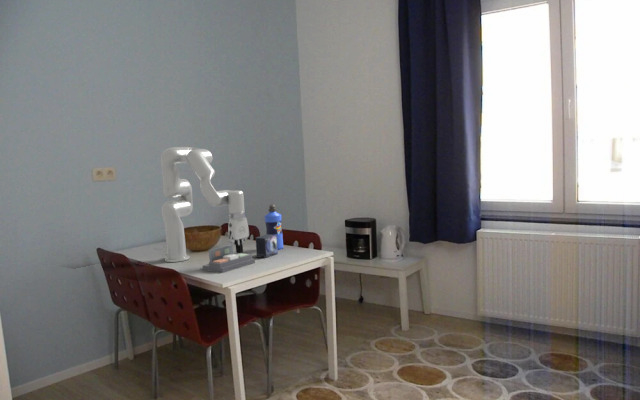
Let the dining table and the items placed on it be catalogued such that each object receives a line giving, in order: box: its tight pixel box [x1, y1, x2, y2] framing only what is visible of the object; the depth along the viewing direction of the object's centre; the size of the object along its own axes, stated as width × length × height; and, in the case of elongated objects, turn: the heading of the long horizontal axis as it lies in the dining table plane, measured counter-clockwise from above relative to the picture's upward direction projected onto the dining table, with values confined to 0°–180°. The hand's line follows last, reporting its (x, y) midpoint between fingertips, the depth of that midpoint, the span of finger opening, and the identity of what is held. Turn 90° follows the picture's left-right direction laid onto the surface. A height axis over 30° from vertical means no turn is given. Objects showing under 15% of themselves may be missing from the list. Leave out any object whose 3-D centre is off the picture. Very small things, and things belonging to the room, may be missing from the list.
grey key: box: [223, 253, 238, 260], centre depth 243 cm, size 5×5×2 cm
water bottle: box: [264, 203, 284, 251], centre depth 279 cm, size 9×9×25 cm
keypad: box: [202, 244, 256, 274], centre depth 243 cm, size 14×21×9 cm, turn 143°
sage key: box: [236, 253, 248, 257], centre depth 248 cm, size 5×5×2 cm
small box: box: [255, 234, 279, 259], centre depth 263 cm, size 11×6×10 cm, turn 148°
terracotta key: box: [213, 259, 228, 263], centre depth 238 cm, size 5×5×2 cm
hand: (239, 252), depth 248 cm, fingers closed
